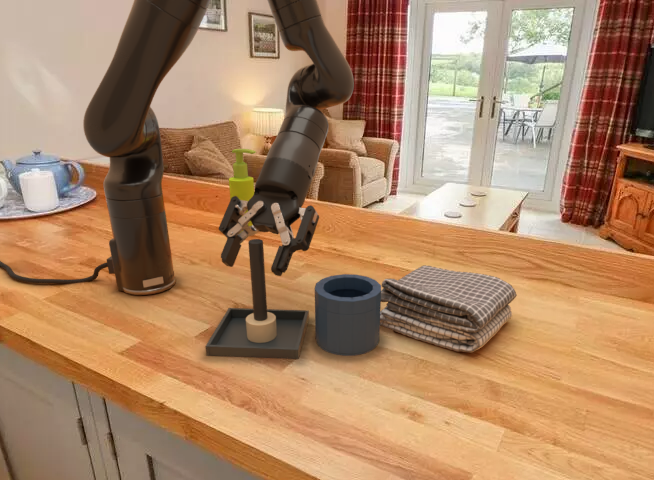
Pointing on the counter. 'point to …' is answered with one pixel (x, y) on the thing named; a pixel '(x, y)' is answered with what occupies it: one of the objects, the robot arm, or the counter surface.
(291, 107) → the robot arm
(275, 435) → the counter surface
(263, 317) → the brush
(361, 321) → the dark gray pen holder
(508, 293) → the towel
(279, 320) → the tray
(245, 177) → the soap dispenser
